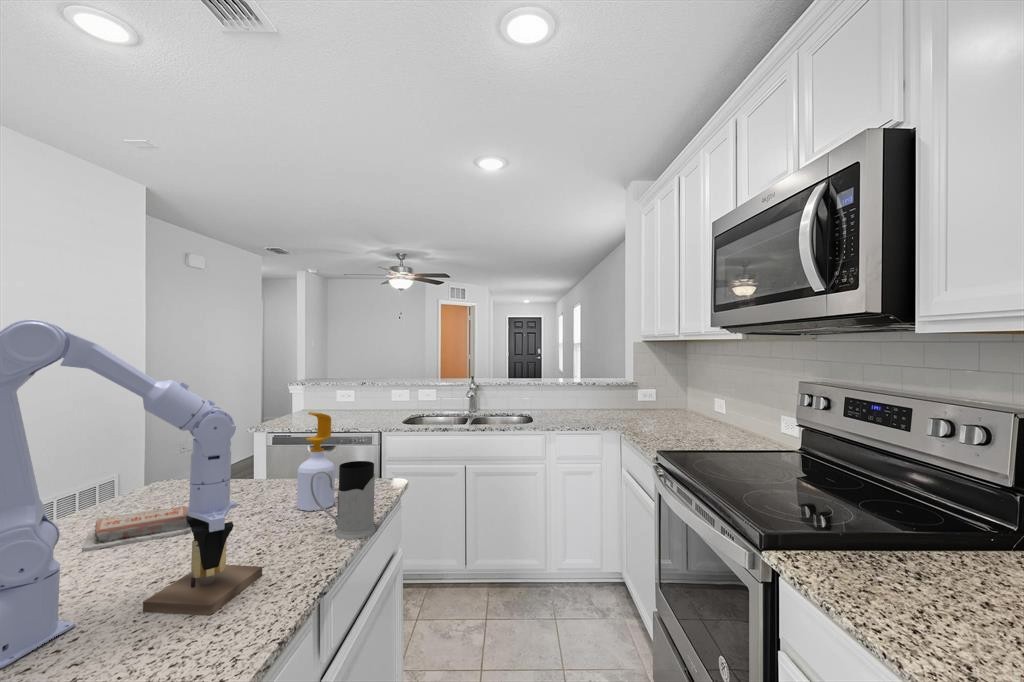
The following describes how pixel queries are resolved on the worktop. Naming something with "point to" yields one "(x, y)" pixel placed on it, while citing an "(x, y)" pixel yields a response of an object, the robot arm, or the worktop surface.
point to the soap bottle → (315, 465)
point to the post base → (202, 591)
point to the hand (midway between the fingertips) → (207, 562)
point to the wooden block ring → (197, 565)
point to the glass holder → (353, 500)
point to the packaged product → (137, 528)
